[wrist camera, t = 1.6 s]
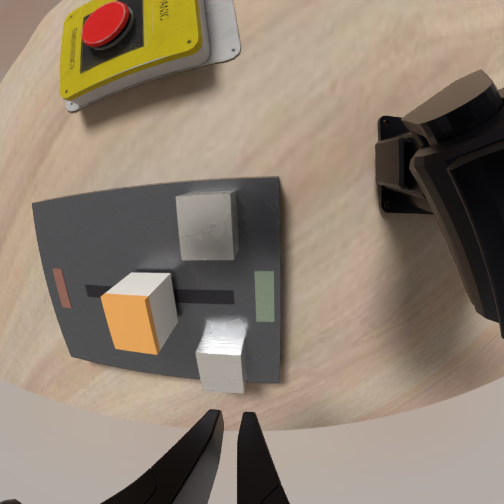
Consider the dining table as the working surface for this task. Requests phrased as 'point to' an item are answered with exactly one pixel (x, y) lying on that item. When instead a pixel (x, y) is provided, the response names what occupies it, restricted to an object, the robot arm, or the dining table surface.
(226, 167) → the dining table surface
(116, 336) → the block
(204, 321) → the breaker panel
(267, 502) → the robot arm
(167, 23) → the emergency button
